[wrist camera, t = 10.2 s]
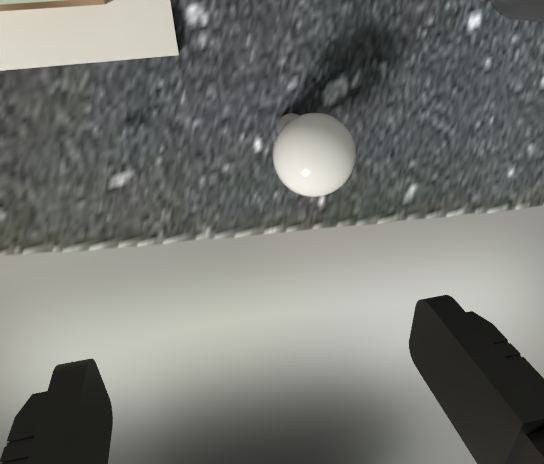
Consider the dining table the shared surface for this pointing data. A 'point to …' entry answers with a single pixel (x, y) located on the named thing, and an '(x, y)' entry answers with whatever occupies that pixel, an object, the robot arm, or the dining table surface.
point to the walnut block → (51, 4)
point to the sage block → (23, 1)
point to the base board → (86, 34)
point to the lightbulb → (313, 153)
